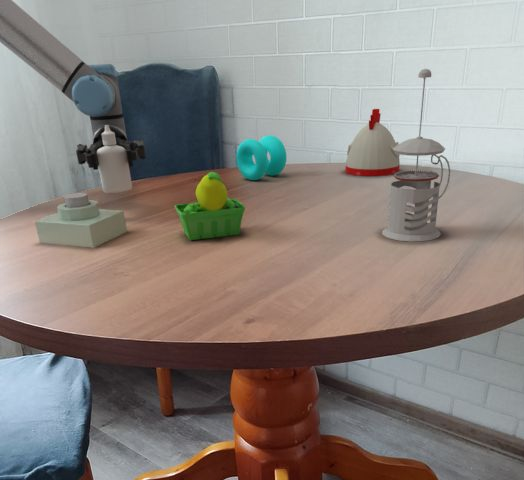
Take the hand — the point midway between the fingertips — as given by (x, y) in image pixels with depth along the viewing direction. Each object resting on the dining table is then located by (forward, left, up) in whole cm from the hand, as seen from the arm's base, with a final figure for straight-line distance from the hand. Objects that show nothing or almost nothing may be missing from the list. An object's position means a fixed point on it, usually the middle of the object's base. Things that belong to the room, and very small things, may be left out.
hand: (112, 160), depth 99 cm
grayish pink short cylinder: (-3, -8, -7) cm, 11 cm away
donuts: (+9, +49, -13) cm, 51 cm away
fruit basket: (+20, -1, -13) cm, 24 cm away
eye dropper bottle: (-3, +4, -7) cm, 8 cm away
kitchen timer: (+35, +62, -13) cm, 72 cm away
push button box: (-3, -8, -12) cm, 15 cm away
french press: (+54, +9, -13) cm, 56 cm away
